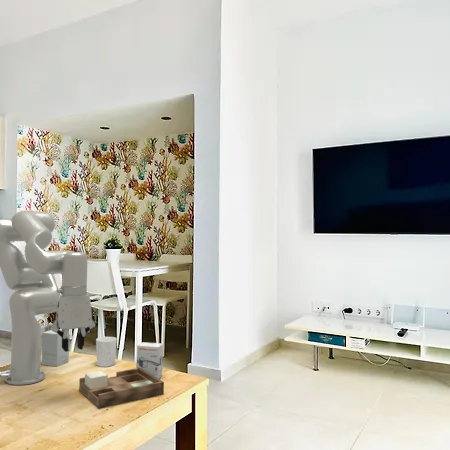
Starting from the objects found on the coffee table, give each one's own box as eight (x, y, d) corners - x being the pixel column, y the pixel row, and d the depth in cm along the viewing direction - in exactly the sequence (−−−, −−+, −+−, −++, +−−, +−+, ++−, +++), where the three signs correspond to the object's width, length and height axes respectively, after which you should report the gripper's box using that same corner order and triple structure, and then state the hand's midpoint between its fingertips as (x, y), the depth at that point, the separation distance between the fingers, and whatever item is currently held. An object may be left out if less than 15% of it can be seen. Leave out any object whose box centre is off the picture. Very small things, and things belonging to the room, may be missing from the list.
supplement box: (69, 361, 179) (70, 330, 179) (56, 367, 172) (57, 333, 172) (54, 359, 182) (54, 328, 182) (41, 364, 175) (41, 332, 175)
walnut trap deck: (99, 408, 133) (99, 395, 133) (79, 390, 148) (79, 378, 148) (163, 394, 146) (163, 382, 146) (139, 379, 160) (139, 367, 160)
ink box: (135, 378, 161) (136, 345, 161) (140, 374, 166) (140, 342, 166) (158, 380, 160) (159, 346, 160) (162, 375, 165) (163, 343, 165)
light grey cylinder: (97, 368, 171) (98, 342, 172) (93, 362, 178) (94, 337, 179) (118, 366, 175) (118, 340, 175) (113, 360, 182) (114, 335, 182)
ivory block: (90, 389, 142) (90, 378, 142) (84, 384, 146) (85, 373, 146) (107, 386, 145) (107, 375, 145) (101, 381, 150) (101, 370, 150)
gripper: (50, 294, 134) (48, 356, 133) (104, 291, 143) (102, 348, 143) (43, 291, 140) (42, 350, 139) (95, 288, 150) (94, 343, 149)
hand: (72, 349), depth 141 cm, fingers open, 3 cm apart
